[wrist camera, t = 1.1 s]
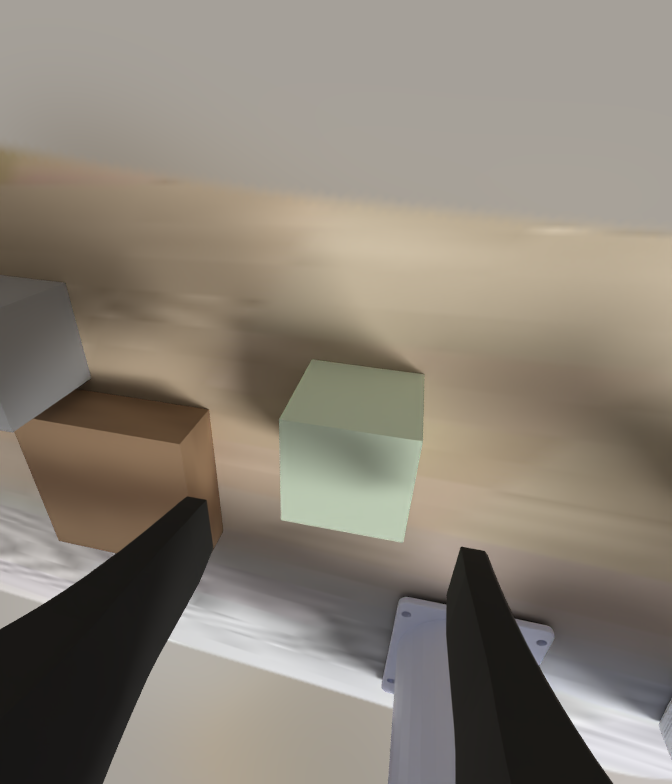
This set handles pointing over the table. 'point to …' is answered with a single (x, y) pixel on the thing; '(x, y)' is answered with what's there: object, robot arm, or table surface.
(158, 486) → the walnut block
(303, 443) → the sage block
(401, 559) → the table surface
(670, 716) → the syrup box
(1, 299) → the grey block
